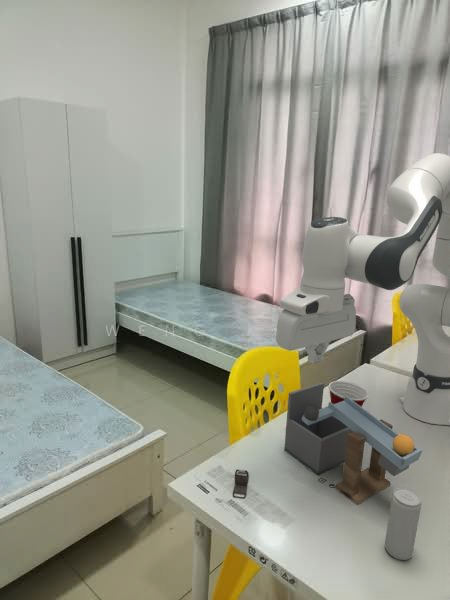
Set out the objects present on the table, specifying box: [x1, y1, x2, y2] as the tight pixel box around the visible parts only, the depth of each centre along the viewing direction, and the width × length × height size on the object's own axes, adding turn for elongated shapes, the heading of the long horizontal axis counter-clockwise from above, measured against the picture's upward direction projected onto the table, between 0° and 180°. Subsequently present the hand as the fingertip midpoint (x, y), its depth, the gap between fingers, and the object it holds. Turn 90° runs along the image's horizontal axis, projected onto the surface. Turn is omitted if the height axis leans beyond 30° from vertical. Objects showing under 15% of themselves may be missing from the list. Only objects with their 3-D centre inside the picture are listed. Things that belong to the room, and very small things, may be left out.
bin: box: [284, 382, 353, 476], centre depth 105 cm, size 12×12×16 cm
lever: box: [302, 396, 423, 478], centre depth 90 cm, size 14×20×6 cm
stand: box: [335, 419, 393, 505], centre depth 94 cm, size 11×6×14 cm, turn 124°
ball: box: [393, 433, 415, 455], centre depth 86 cm, size 4×4×4 cm
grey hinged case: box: [232, 469, 250, 500], centre depth 94 cm, size 8×3×4 cm, turn 171°
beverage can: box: [384, 487, 422, 561], centre depth 77 cm, size 5×5×12 cm
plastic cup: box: [328, 380, 370, 408], centre depth 118 cm, size 11×11×12 cm
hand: (315, 361), depth 90 cm, fingers closed
